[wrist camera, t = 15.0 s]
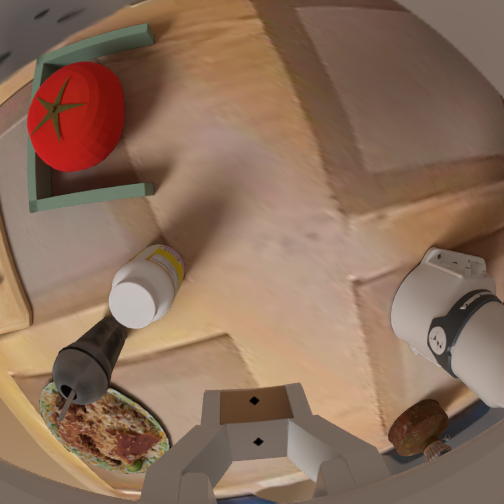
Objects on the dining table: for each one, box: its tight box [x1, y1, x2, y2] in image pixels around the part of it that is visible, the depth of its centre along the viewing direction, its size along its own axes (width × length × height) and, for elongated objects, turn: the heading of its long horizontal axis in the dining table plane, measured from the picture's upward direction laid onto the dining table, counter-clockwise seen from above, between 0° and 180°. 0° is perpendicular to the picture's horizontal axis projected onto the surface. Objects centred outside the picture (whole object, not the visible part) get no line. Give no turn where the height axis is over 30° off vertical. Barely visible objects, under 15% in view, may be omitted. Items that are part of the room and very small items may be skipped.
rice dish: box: [39, 381, 170, 474], centre depth 41 cm, size 28×28×5 cm
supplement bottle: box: [109, 244, 185, 329], centre depth 31 cm, size 7×7×13 cm
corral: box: [28, 23, 154, 213], centre depth 30 cm, size 18×23×4 cm
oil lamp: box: [388, 399, 451, 462], centre depth 31 cm, size 14×15×40 cm
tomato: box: [27, 61, 125, 172], centre depth 27 cm, size 14×13×10 cm
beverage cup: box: [53, 317, 127, 422], centre depth 29 cm, size 7×7×20 cm
